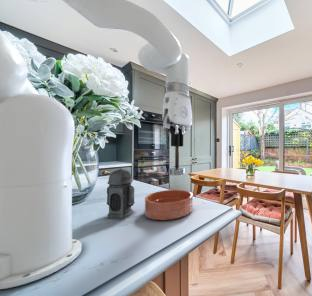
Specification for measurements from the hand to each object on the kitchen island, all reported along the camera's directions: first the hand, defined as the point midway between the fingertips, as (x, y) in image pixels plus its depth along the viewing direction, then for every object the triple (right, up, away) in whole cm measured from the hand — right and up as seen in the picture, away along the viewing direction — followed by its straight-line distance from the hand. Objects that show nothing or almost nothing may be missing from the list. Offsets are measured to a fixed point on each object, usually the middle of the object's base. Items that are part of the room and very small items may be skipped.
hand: (177, 146), depth 57 cm
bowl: (-3, -22, 0) cm, 23 cm away
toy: (-17, -23, -3) cm, 29 cm away
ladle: (0, -10, 0) cm, 10 cm away
